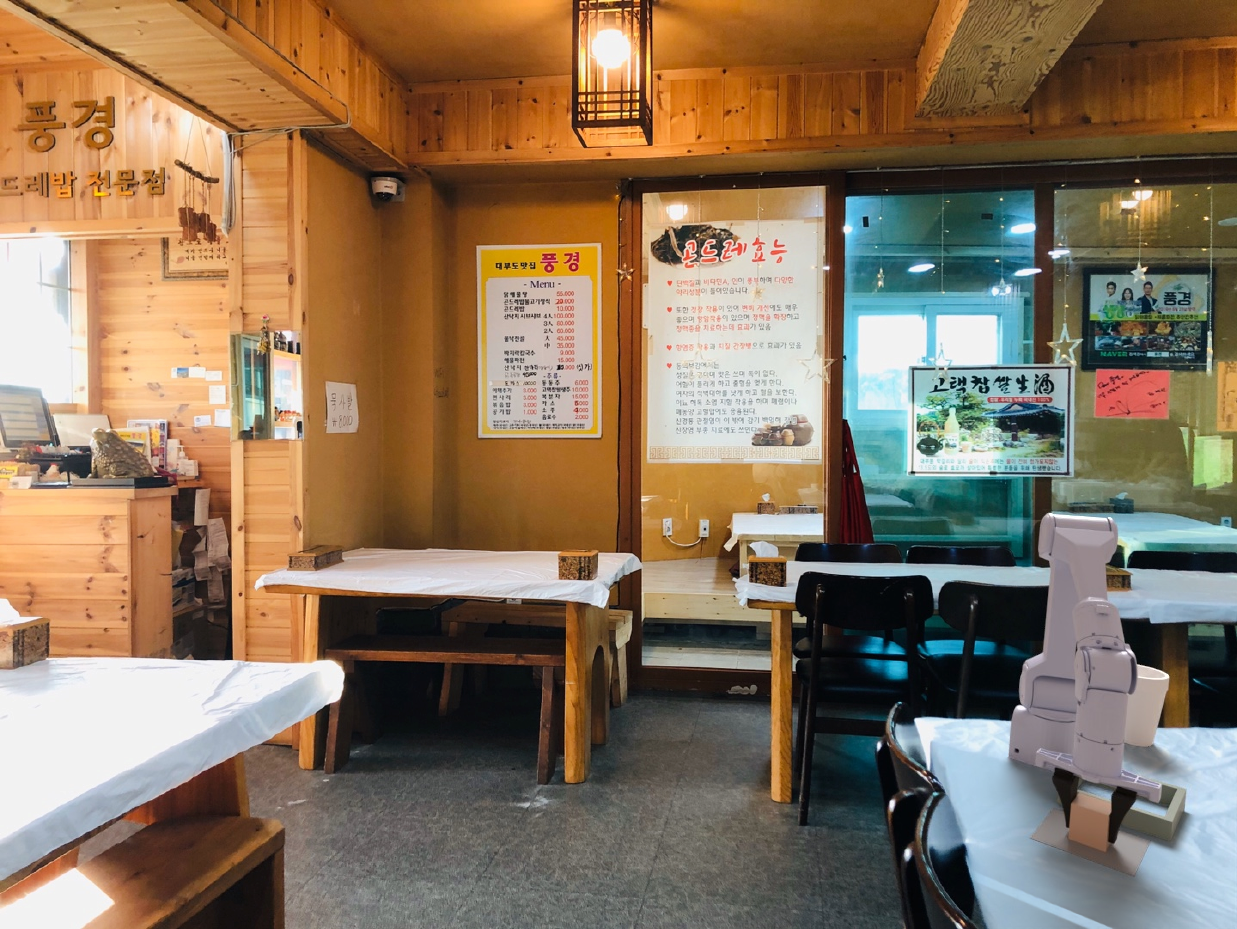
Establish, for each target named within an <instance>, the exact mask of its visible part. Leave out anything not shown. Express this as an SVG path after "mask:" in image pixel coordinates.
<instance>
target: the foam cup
mask: <svg viewBox="0 0 1237 929" xmlns="http://www.w3.org/2000/svg"><path fill="white" fill-rule="evenodd" d="M1137 669H1138V680H1137V686H1136V690H1135V692H1134V693H1133V694H1132V695H1130V694H1128V693H1127V694H1126V695H1127V696H1128V705H1127V716H1126V728H1125V739H1124V744H1127V745H1131V746H1134V747H1136V746H1137V747H1143V748H1144V747H1148V746H1149V747H1151V745H1152V746H1153V745H1154V741H1155V738H1156V734H1157V730H1158V726H1159V722H1160V718H1161V714H1162V710H1163V706H1164V702H1165V698H1166V695H1167V692H1168V691H1169V684H1170V676H1169V674H1168V673H1166V672H1165V671H1163V670H1160V669H1156V668H1154V667H1150V666H1145V665H1142V664H1141V665H1140V664H1137Z"/></svg>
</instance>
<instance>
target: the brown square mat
mask: <svg viewBox="0 0 1237 929" xmlns="http://www.w3.org/2000/svg"><path fill="white" fill-rule="evenodd" d="M1068 837H1069V828H1066V822H1065V815H1064V811H1063V810H1061V809H1057V808H1055V807H1053V808H1052V809H1051V810H1050V811H1049V813H1048V814H1047V816H1046V817H1045V818H1044V819H1043V821H1042V822H1041V823H1040V824H1039V825H1038V827H1037V828H1036V830H1035V831H1034V832H1033V833H1032V835H1031V836H1030V837H1029V839H1031V840H1033V841H1037V842H1039V843H1042V844H1044V845H1047V846H1050V847H1053V848H1055V849H1057V850H1061V851H1063V852H1066V853H1069V854H1072V855H1074V856H1077V857H1079V858H1083V859H1085V860H1088V861H1091V862H1093V863H1095V864H1096V863H1097V864H1099V865H1102V866H1104V867H1107V868H1109V869H1112V870H1115V871H1117V872H1118V871H1119V872H1121V873H1123V874H1127V875H1129V876H1131V877H1135V875H1136V873H1137V871H1138V869H1139V867H1140V865H1141V863H1142V861H1143V858H1144V856H1145V854H1146V852H1147V850H1148V847H1149V845H1150V843H1151V840H1150V839H1146V838H1144V837H1141V836H1137V835H1135V834H1132V833H1130V832H1126V831H1123V830H1120V829H1119V832H1118V836H1117V840H1116V842H1115V843H1114V844H1112V843H1111V844H1110V845H1109V847H1108V849H1107V851H1106V852H1104V851H1101V850H1098V849H1096V848H1093V847H1090V846H1087V845H1084V844H1082V843H1079V842H1076V841H1073V840H1070V839H1068Z"/></svg>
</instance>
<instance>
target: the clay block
mask: <svg viewBox="0 0 1237 929" xmlns="http://www.w3.org/2000/svg"><path fill="white" fill-rule="evenodd" d="M1110 822H1111V803H1110V802H1107V801H1103V800H1100V799H1097V798H1094V797H1091V796H1088V795H1085V794H1081V793H1079V794H1078V795H1077V796H1076V798H1075V799H1074V800H1073V802H1072V803H1071V813H1070V825H1069V837H1068V839H1070V840H1073V841H1076V842H1079V843H1082V844H1084V845H1087V846H1090V847H1093V848H1096V849H1098V850H1101V851H1104V852H1106V851H1107V849H1108V847H1109V845H1110V844H1111V843H1110V842H1108V834H1109V828H1110Z"/></svg>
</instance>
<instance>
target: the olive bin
mask: <svg viewBox="0 0 1237 929" xmlns="http://www.w3.org/2000/svg"><path fill="white" fill-rule="evenodd" d="M1137 775H1138V776H1141V777H1143V778H1146V779H1148V780H1151V781H1154V782H1157V783H1160V784H1162V790H1161V799H1160V801H1159V803H1156V802H1153V801H1150V800H1149V798H1147V797H1143V796H1140V795H1139V796H1138V797H1137V799H1142V800H1145V801H1148V802H1151V803H1154V804H1157V805H1161V806H1165V807H1168V808H1167V811H1166V813H1165V815H1160V814H1157V813H1154V812H1151V811H1147V810H1144V809H1142V808H1137V807H1135V806H1132V807H1131V808H1130V810H1129V811H1128V812H1127V814H1126V815H1125V817H1124V819H1123V821H1122V823H1121V826H1122V827H1125V828H1129V829H1132V830H1136V831H1138V832H1140V833H1144V834H1147V835H1150V836H1153V837H1156V838H1159V839H1161V840H1165V841H1169V842H1171V841H1172V839H1173V837H1174V834H1175V832H1176V829H1177V827H1178V824H1179V823H1180V820H1181V818H1182V815H1183V813H1184V812H1185V808H1186V799H1187V788H1183V787H1180V786H1177V785H1173V784H1170V783H1166V782H1163V781H1160V780H1157V779H1153V778H1149V777H1146V776H1143V775H1139V774H1137ZM1083 782H1086V783H1090V784H1091V785H1092V784H1093V785H1096V786H1099V787H1103V788H1106V789H1108V790H1113V791H1115V790H1116V788H1114V787H1111V786H1107V785H1104V784H1101V783H1093V782H1090V781H1087V780H1084V779H1082V778H1081V777H1079V783H1078V788H1079V787H1080V786H1081V785H1082V783H1083ZM1079 793H1081V794H1085V795H1088V796H1091V797H1094V798H1097V799H1100V800H1103V801H1107V802H1110V803H1111V798H1110V799H1109V798H1107V797H1103V796H1100V795H1097V794H1095V793H1094V794H1093V793H1090V792H1088V791H1084V790H1081V789H1078V790H1077V795H1078V794H1079ZM1056 796H1057V797H1056V798H1057V799H1056V804H1057V805H1059V806H1062V803H1061V800H1060V797H1059V795H1058V794H1057V795H1056Z"/></svg>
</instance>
